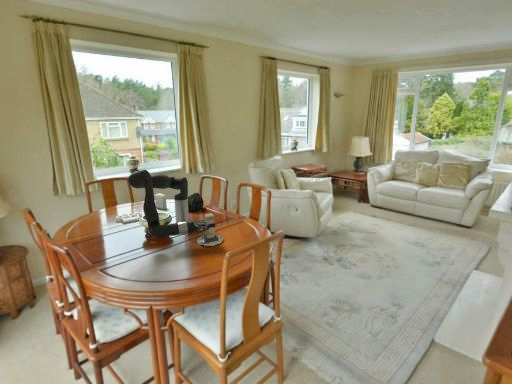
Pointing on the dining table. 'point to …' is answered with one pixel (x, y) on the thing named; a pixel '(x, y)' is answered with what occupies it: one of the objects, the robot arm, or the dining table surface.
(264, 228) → the dining table surface
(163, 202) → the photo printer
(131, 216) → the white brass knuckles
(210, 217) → the wedge peg
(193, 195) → the squash
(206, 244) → the rosette plate
